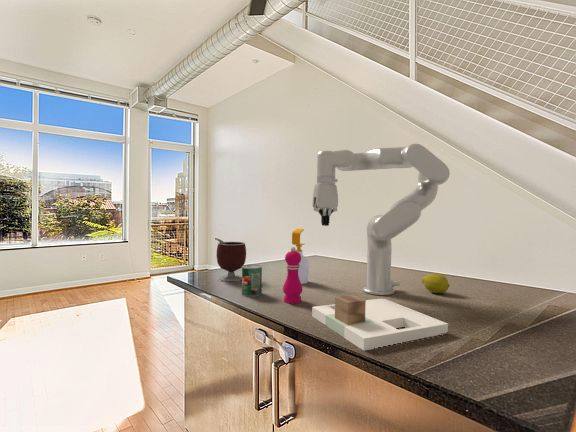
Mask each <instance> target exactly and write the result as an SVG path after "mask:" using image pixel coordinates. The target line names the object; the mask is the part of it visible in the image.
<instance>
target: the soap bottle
mask: <svg viewBox="0 0 576 432" xmlns="http://www.w3.org/2000/svg"><path fill="white" fill-rule="evenodd" d="M304 231H305V228H296V229H294V230H293V231H292V233H291V243H292V245H295V248H296V250H295V251H296V252H298V253H300V255H301V261H300V263H299V265H300V268H299V270H298V276H299V279H300V282H301V284H302V285H306V284H308V283H309V262H310V261H309V259H308V258H307V257H306V256H304V255H303V249H301V248H302V247H303V246H304V245H305V243H301V233H303V232H304Z"/></svg>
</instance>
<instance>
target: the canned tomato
mask: <svg viewBox="0 0 576 432" xmlns="http://www.w3.org/2000/svg"><path fill="white" fill-rule="evenodd" d="M241 276H242V281H241V295H242V296H243V297H249V296H250V297H259V296H261V295H263V292H262V290H263V285H262V283H263V282H262V281H263V279H262V278H263V277H262V276H263V266H262V265H259V264H244V265H243V266H242V268H241Z"/></svg>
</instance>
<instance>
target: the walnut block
mask: <svg viewBox="0 0 576 432" xmlns="http://www.w3.org/2000/svg"><path fill="white" fill-rule="evenodd" d="M334 304H335V318H336V319H337V320H339V321H341V322H343V323H345V324H347V325H350V324H355V323H361V322H365V305H366V300H365V299H363V298H361V297H358V296H356V295H354V294H351V295H350V294H347V295H341V296H335V297H334Z"/></svg>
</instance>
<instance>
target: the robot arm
mask: <svg viewBox="0 0 576 432" xmlns="http://www.w3.org/2000/svg"><path fill="white" fill-rule="evenodd" d="M316 160H317V161H316V162H317V163H316V184H314V188H313V193H312V208H313V211H314V212H317V213H318V214H319V215H320V216H321V217H320V218H321V221H320V223H321V226H325V227H326V226H327V227H328V226H330V216H332V214H333V213H335V212H337V211H338V206H339V194H338V187H337V185H336V183H338V179H337V178H336V169H338V170H339V171H340V172H341V171H342V172H352V171H355V172H356V171H369V170H387V169H410V168H415V170H417V171H418V172H419V173H418V175H417V176H418V177H417V179H418V180H417V185H416V187H415V189H413V190H411V192H409V193H408V194H407V195H405V196H404V197H402V198H401V199H399V200H398V201H397V200H396V201H395V202H394V203H393V204H392V205H391V206H390V209H389V210H388V211H386V212H385V213H384V214H378V215H374V216H372V217H371V218H370V219H369V220H368V222H367V225H366V239H367V260H366V265H367V267H366V285H364V286H363V288H362V291H363V292H364V293H366V294H370V295H376V296H391V295H393V294H395V289H394V287H400V284H401V283H400V281H398V280H397V281H394V280H391V279H392V239H393V238H396V237H397V236H399V235H401V233H403V232H404V231H406V230H408V228H410V227H412V226H413V225H414V224H415V223H417V222H418V220H419V219H420V217H421V216H422V211H423V210H425V208H427V207H428V206H430V205H431V204H432V203H433V202H434V200H435V199H436V198H437V195H438V191H439V189H438V188H439V186H440V185H442V184H444V183H446V182H447V181H448V180H449V178H450V174H451V173H450V169H449V167H448V165H447V164H446V163H445V162H444V161H442V160H441V159H440V158H439V157H438V156H436V155H435V154H434V153H433V152H431V151H430V150H429V149H428V148H427V147H425V146H424V145H422V144H419V143H410V144H409V145H408V146H397V147H379V148H375V149H371V150H368V151H365V152H357V153H354V152H353V151H351V150H349V149H341V150H334V151H333V150H320V151H318V153H317V157H316Z"/></svg>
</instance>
